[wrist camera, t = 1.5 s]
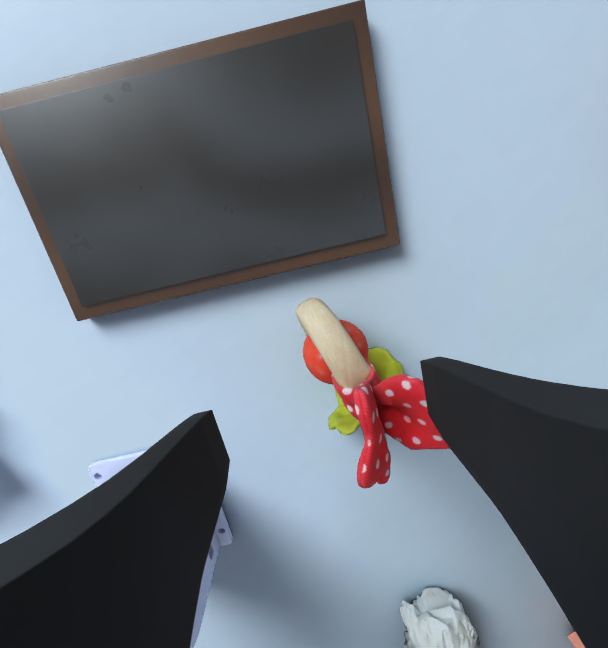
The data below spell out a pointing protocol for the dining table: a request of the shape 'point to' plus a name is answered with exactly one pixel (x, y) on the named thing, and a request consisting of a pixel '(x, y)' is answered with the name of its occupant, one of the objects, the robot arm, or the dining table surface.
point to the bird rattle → (366, 391)
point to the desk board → (206, 162)
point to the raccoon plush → (437, 622)
